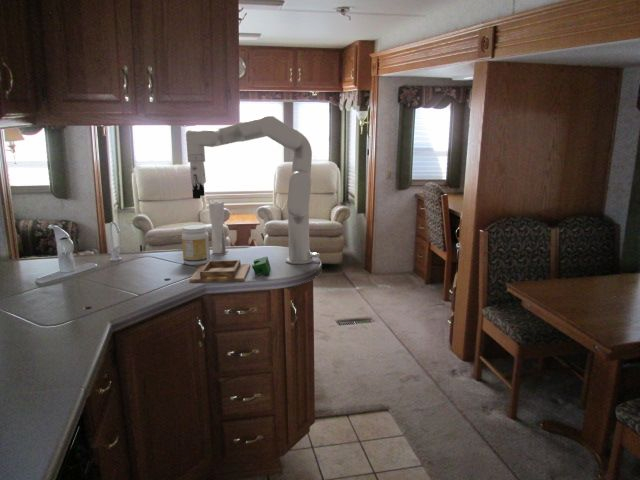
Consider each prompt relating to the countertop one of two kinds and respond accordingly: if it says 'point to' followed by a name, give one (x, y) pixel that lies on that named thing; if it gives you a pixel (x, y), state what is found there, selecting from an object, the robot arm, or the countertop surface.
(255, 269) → the clamp
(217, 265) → the brown shallow square tray
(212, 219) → the skyscraper
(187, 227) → the supplement tub
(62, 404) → the countertop surface
